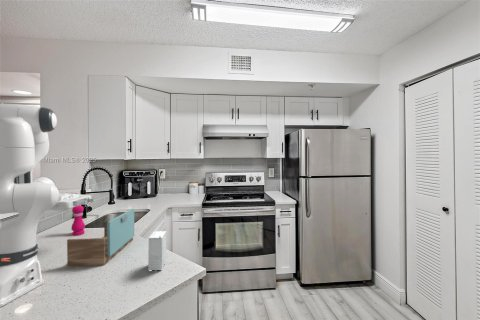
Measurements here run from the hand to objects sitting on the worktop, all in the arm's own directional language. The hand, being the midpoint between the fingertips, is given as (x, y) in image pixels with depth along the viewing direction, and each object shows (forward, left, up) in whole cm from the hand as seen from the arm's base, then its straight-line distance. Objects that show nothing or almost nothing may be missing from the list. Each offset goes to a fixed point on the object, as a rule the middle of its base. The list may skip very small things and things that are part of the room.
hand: (90, 201), depth 119 cm
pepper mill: (+28, +24, -26) cm, 45 cm away
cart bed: (-2, -8, -26) cm, 27 cm away
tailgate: (-2, -17, -23) cm, 29 cm away
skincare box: (-22, -41, -26) cm, 54 cm away
